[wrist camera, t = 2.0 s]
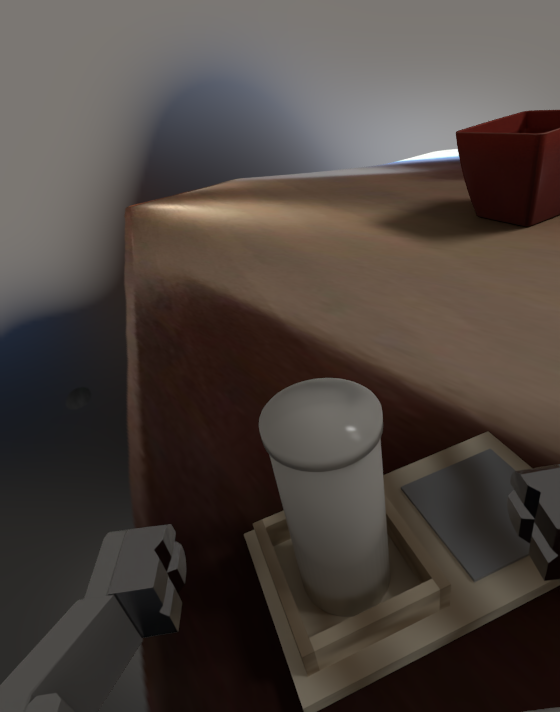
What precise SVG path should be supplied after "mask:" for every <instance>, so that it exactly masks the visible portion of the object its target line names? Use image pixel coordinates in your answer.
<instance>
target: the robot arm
mask: <svg viewBox="0 0 560 712" xmlns="http://www.w3.org/2000/svg"><path fill="white" fill-rule="evenodd" d="M510 484H511V485H512V487H513V488H514V490H513V491H512V492H511V493H510V494H509V495H508V500H507V508H508V513H509V518H510V520H511V523H512V525H513V527H514V529H515V531H516V533H517V535H518V536H519V537H520V538H522V539H523V540H525V541H527V542H528V543H530V547H529V553H528V554H529V556H530V557H531V559H532V561H533V563H534V564H535V566H536V568H537V570H538V571H539V573H540V575H541V576H542V578H543V580H544V581H548V580H557V579H560V464H559V465H550V466H544V467H538V468H532V469H526V470H519V471H514V472H513V474H512V475H511V479H510ZM175 535H176V532H175V530H174V528H173V527H172V525H171V524H169V525H161V526H153V527H145V528H136V529H129V530H122V531H114V532H109V533H108V534H107V535H106V537H105V538H104V540H103V543H102V545H101V549H100V552H99V555H98V558H97V561H96V564H95V567H94V570H93V573H92V576H91V579H90V582H89V585H88V588H87V591H86V594H85V597H84V599H80V600H77V601H76V603H74V605H73V606H72V607H71V608H70V609H69V610H68V611H67V612H66V613H65V614H64V616H63V617H62V618H61V619H60V620H59V621H58V622H57V623H56V625H54V627H53V628H52V629H51V630H50V631H49V632H48V633H47V634H46V635H45V636H44V638H43V639H42V640H41V641H40V642H39V643H38V644H37V645H36V646H35V648H34V649H33V650H32V651H31V652H30V653H29V654H28V655H27V656H26V657H25V659H24V660H23V661H22V662H21V663H20V664H19V665H18V666H17V667H16V668H15V670H14V671H13V672H12V673H11V674H10V675H9V676H8V677H7V678H6V679H5V681H4V682H3V683H2V684H1V685H0V712H98V711H99V709H100V707H101V706H102V704H103V703H104V701H105V700H106V698H107V696H108V695H109V693H110V692H111V690H112V688H113V687H114V685H115V684H116V682H117V680H118V679H119V677H120V676H121V674H122V673H123V671H124V669H125V668H126V666H127V665H128V663H129V661H130V660H131V658H132V657H133V655H134V653H135V652H136V650H137V649H138V647H139V646H140V644H141V642H142V641H143V639H142V638H145V637H151V636H157V635H163V634H169V633H175V632H178V630H179V623H180V616H181V609H182V601H181V599H180V597H179V595H178V593H179V591H180V590H181V589H182V587H183V586H184V585H185V579H186V558H185V553H184V550H183V548H182V545H181V544H180V543H178V542H176V541H175ZM525 712H560V707H557V708H549V709H541V710H533V711H525Z"/></svg>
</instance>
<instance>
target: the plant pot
mask: <svg viewBox="0 0 560 712" xmlns="http://www.w3.org/2000/svg"><path fill="white" fill-rule="evenodd" d="M456 139H457V146H458V152H459V158H460V163H461V167H462V172H463V176H464V179H465V183H466V186H467V190H468V193H469V196H470V199H471V202H472V204H473V207H474V210H475V212H476V214H477V216H479V217H484V218H488V219H493V220H498V221H503V222H507V223H512V224H517V225H522V226H531V225H534V224H536V223H539V222H541V221H544V220H547V219H549V218H552V217H554V216H557V215H559V214H560V110H535V111H524V112H520V113H517V114H513V115H509V116H506V117H503V118H499V119H496V120H492V121H489V122H486V123H482V124H479V125H476V126H472V127H469V128H466V129H462V130H459V131H457V132H456Z"/></svg>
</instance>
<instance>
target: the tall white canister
mask: <svg viewBox="0 0 560 712" xmlns="http://www.w3.org/2000/svg"><path fill="white" fill-rule="evenodd" d="M259 431H260V434H261V438H262V442H263V445H264V447H265V449H266V451H267V452H268V453H269V455H270V459H271V463H272V466H273V470H274V474H275V478H276V482H277V486H278V490H279V494H280V497H281V501H282V505H283V509H284V513H285V517H286V521H287V525H288V528H289V532H290V536H291V540H292V544H293V548H294V552H295V556H296V559H297V563H298V567H299V571H300V575H301V579H302V583H303V586H304V589H305V591H306V593H307V595H308V597H309V598H310V599H311V601H312V602H313V603H314V604H315V605H316V606H318V607H319V608H320V609H322V610H323V611H325V612H327V613H330V614H333V615H337V616H344V617H350V616H356V615H358V614H360V613H362V612H364V611H366V610H368V609H370V608H372V607H374V606H376V605H378V604H379V603H380V602H381V600H382V599H383V598H384V596H385V594H386V592H387V590H388V587H389V583H390V564H389V550H388V536H387V522H386V509H385V495H384V481H383V467H382V453H381V439H380V438H381V435H382V432H383V415H382V407H381V404H380V402H379V400H378V399H377V397H376V396H375V395H374V394H373V393H372V392H371V391H370V390H369V389H367V388H366V387H364V386H362V385H360V384H358V383H355V382H352V381H349V380H344V379H337V378H319V379H312V380H307V381H303V382H300V383H297V384H294V385H292V386H290V387H287V388H285V389H284V390H282V391H280V392H279V393H278V394H276V395H275V396H274V397H273V398H272V399H270V401H269V402H268V403H267V404H266V405H265V407H264V408H263V410H262V412H261V415H260V418H259Z"/></svg>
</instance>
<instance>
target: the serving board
mask: <svg viewBox="0 0 560 712" xmlns="http://www.w3.org/2000/svg"><path fill="white" fill-rule="evenodd" d="M526 469H532V468H531V467H530V466H529V465H528V464H527V463H525V462H524V461H523V460H522V459H521V458H519V457H518V456H517V455H516V454H515V453H513V452H512V451H511V450H510V449H509V448H507V447H506V446H505V445H504V444H503V443H501V442H500V441H499V440H498V439H497V438H495V437H494V436H493V435H492V434H491V433H489V432H485V433H483V434H481V435H478V436H476V437H474V438H471V439H469V440H466V441H464V442H462V443H459V444H457V445H454V446H452V447H450V448H447V449H445V450H443V451H440V452H438V453H435V454H433V455H431V456H428V457H426V458H424V459H421V460H419V461H416V462H414V463H412V464H409V465H407V466H404V467H402V468H400V469H397V470H395V471H393V472H390V473H388V474H385V475H383V481H384V495H385V509H386V522H387V536H388V550H389V564H390V583H389V587H388V590H387V592H386V594H385V596H384V598H383V599H382V600H381V602H380V603H379V604H378V605H376V606H374V607H372V608H370V609H368V610H366V611H364V612H362V613H360V614H358V615H356V616H350V617H344V616H337V615H333V614H330V613H327V612H325V611H323V610H322V609H320V608H319V607H318V606H316V605H315V604H314V603H313V602H312V601H311V599H310V598H309V597H308V595H307V593H306V591H305V589H304V586H303V583H302V579H301V575H300V571H299V567H298V563H297V559H296V556H295V552H294V548H293V544H292V540H291V536H290V532H289V528H288V525H287V521H286V517H285V513H284V511H281V512H279V513H277V514H274V515H272V516H269V517H267V518H265V519H262V520H260V521H257V522H255V523H253V527H254V530H252V531H250V532H247V533H245V534H244V537H245V540H246V543H247V546H248V549H249V551H250V554H251V557H252V560H253V563H254V566H255V569H256V572H257V575H258V578H259V581H260V584H261V587H262V590H263V593H264V596H265V599H266V602H267V604H268V607H269V610H270V613H271V616H272V619H273V622H274V625H275V628H276V631H277V634H278V637H279V640H280V643H281V646H282V649H283V652H284V655H285V657H286V660H287V663H288V666H289V669H290V672H291V675H292V678H293V681H294V684H295V687H296V690H297V693H298V696H299V699H300V702H301V705H302V708H303V710H304V712H317V711H319V710H321V709H323V708H325V707H327V706H328V705H330V704H332V703H334V702H336V701H338V700H340V699H342V698H344V697H346V696H348V695H350V694H352V693H353V692H355V691H357V690H359V689H361V688H363V687H365V686H367V685H369V684H371V683H373V682H375V681H377V680H378V679H380V678H382V677H384V676H386V675H388V674H390V673H392V672H394V671H396V670H398V669H400V668H402V667H403V666H405V665H407V664H409V663H411V662H413V661H415V660H417V659H419V658H421V657H423V656H425V655H427V654H428V653H430V652H432V651H434V650H436V649H438V648H440V647H442V646H444V645H446V644H448V643H450V642H452V641H453V640H455V639H457V638H459V637H461V636H463V635H465V634H467V633H469V632H471V631H473V630H475V629H477V628H478V627H480V626H482V625H484V624H486V623H488V622H490V621H492V620H494V619H496V618H498V617H500V616H502V615H503V614H505V613H507V612H509V611H511V610H513V609H515V608H517V607H519V606H521V605H523V604H525V603H527V602H528V601H530V600H532V599H534V598H536V597H538V596H540V595H542V594H544V593H546V592H548V591H550V590H552V589H553V588H555V587H557V586H559V585H560V579H557V580H548V581H544V580H543V578H542V576H541V575H540V573H539V571H538V570H537V568H536V566H535V564H534V563H533V561H532V559H531V557H530V556H529V554H528V553H529V547H530V543H528V542H527V541H525V540H523V539H522V538H520V537H519V536H518V535H517V533H516V531H515V529H514V527H513V525H512V523H511V520H510V518H509V513H508V508H507V500H508V495H509V494H510V493H511V492H512V491H513V490H514V488H513V487H512V485H511V484H510V479H511V475H512V474H513V472H514V471H519V470H526Z"/></svg>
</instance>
